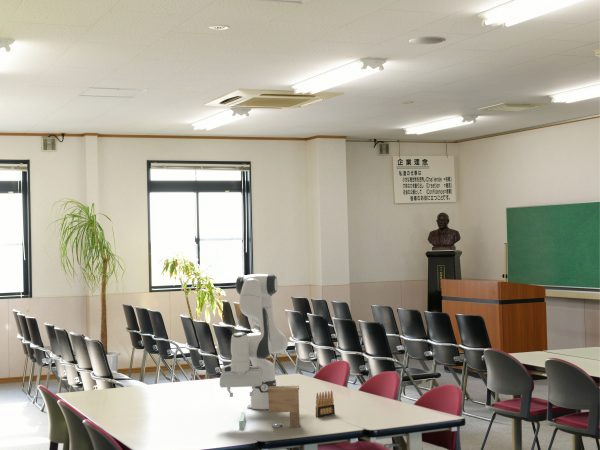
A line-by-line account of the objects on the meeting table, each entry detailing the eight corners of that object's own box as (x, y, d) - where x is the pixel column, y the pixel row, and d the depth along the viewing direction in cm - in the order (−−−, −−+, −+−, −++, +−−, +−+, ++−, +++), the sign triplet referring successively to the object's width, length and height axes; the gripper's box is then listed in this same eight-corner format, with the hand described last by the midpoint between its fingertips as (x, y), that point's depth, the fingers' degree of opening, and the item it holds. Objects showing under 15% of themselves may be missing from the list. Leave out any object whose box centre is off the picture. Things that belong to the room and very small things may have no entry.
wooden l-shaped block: (269, 425, 422) (267, 386, 422) (300, 423, 422) (298, 385, 423) (268, 428, 414) (267, 389, 415) (300, 426, 415) (299, 387, 415)
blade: (241, 420, 436) (241, 412, 436) (245, 420, 436) (245, 412, 436) (239, 429, 414) (239, 421, 414) (243, 429, 414) (243, 420, 415)
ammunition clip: (317, 417, 436) (317, 392, 436) (315, 417, 438) (314, 392, 438) (335, 414, 443) (334, 390, 443) (332, 414, 444) (331, 389, 444)
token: (271, 426, 421) (271, 423, 421) (282, 425, 421) (282, 423, 421) (271, 428, 416) (271, 425, 416) (282, 427, 416) (282, 425, 416)
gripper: (262, 365, 429) (263, 394, 429) (219, 367, 429) (220, 396, 428) (262, 367, 423) (263, 396, 422) (218, 368, 423) (219, 398, 422)
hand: (241, 396), depth 425 cm, fingers open, 8 cm apart
